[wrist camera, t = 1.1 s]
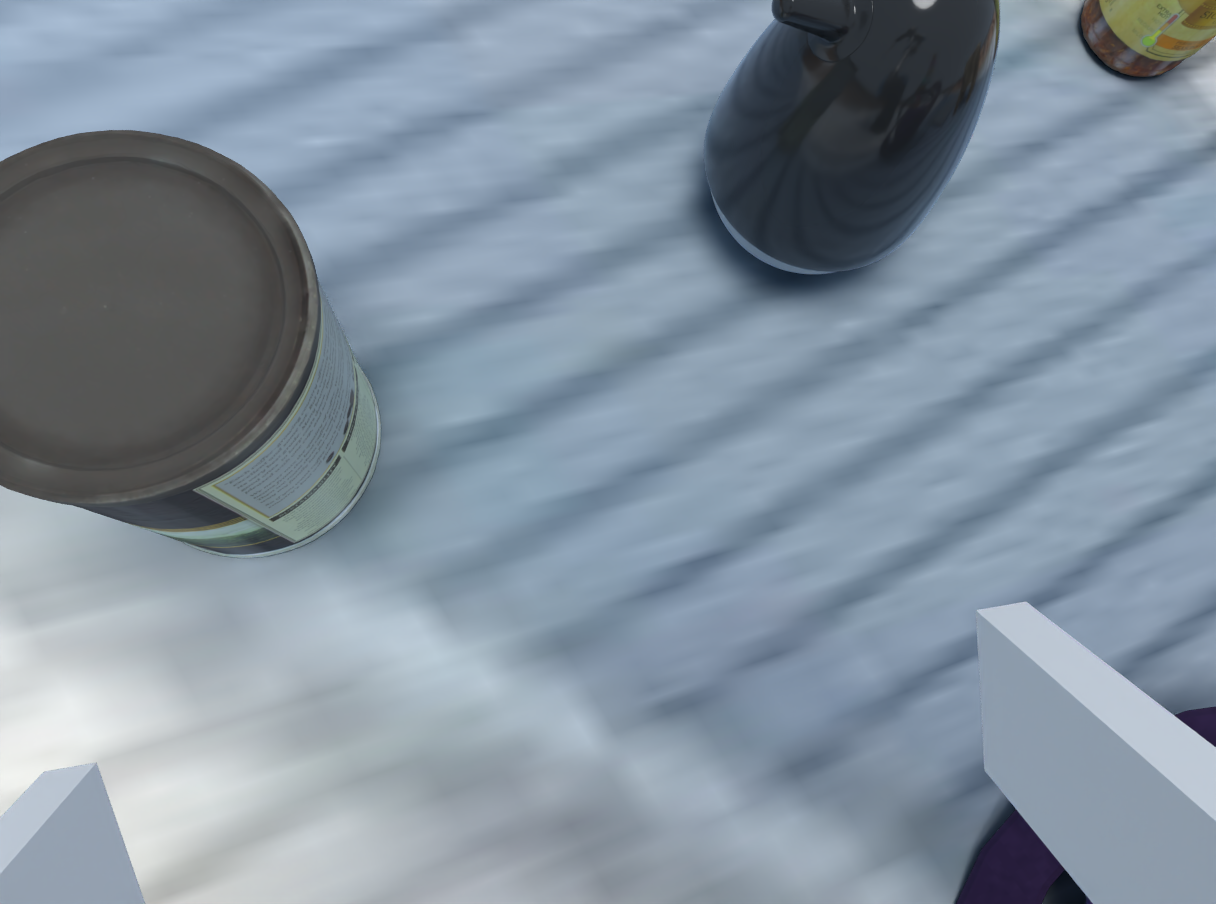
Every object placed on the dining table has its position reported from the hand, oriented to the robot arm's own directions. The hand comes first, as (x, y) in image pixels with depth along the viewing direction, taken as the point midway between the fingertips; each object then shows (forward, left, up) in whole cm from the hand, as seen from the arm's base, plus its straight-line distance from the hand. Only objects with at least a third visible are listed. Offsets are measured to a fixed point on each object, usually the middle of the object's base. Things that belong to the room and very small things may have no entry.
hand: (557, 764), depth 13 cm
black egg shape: (+20, -16, -23) cm, 34 cm away
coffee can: (+12, +9, -23) cm, 28 cm away
